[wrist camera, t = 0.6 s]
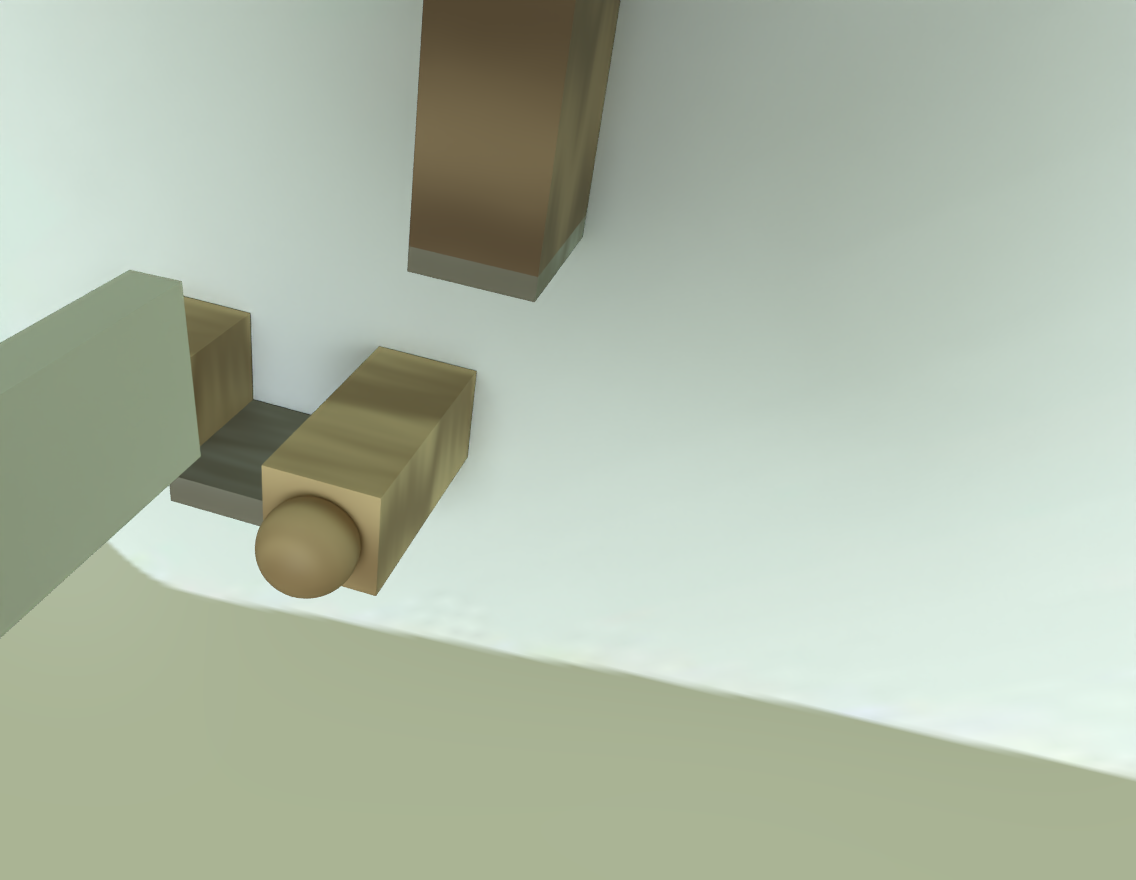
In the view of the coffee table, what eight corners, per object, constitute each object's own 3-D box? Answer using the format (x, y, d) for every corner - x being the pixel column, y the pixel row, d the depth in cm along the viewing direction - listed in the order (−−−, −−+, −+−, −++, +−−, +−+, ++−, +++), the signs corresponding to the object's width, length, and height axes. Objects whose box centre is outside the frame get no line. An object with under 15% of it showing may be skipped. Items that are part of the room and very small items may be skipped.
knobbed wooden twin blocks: (159, 290, 39) (-64, 425, 30) (476, 371, 38) (346, 544, 28) (168, 400, 42) (-33, 557, 33) (464, 481, 40) (343, 672, 31)
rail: (522, -313, 26) (444, -354, 21) (666, -291, 26) (620, -328, 21) (473, 211, 34) (407, 271, 29) (582, 237, 34) (534, 302, 29)
